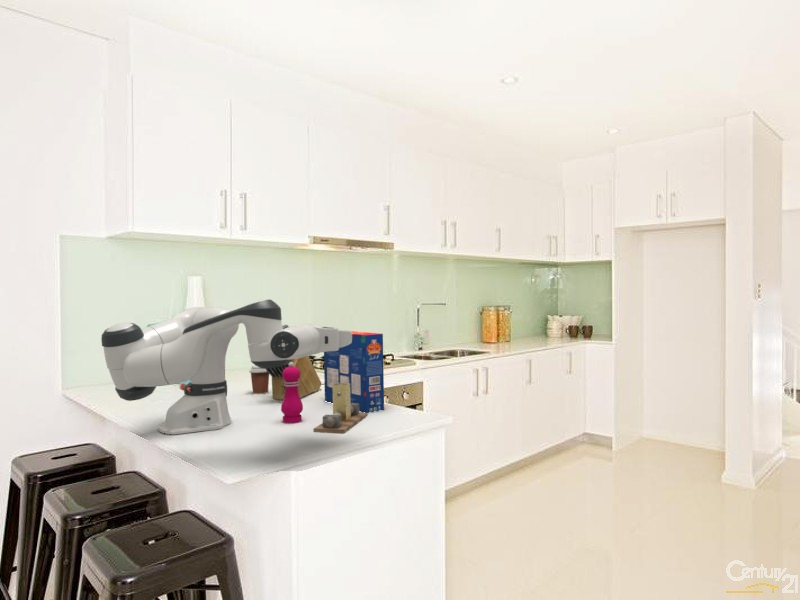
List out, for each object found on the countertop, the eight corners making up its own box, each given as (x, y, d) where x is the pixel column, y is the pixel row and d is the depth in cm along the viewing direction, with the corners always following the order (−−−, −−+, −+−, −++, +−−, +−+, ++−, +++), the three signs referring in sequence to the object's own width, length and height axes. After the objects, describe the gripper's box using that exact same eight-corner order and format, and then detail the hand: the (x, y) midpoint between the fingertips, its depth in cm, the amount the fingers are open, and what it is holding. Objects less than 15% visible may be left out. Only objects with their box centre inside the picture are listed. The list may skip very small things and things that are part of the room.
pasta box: (384, 410, 198) (382, 333, 197) (366, 413, 193) (365, 335, 192) (341, 399, 219) (340, 330, 219) (324, 401, 214) (323, 331, 214)
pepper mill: (293, 417, 188) (292, 360, 188) (307, 420, 183) (306, 361, 183) (276, 421, 182) (275, 362, 182) (290, 424, 178) (289, 364, 177)
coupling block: (345, 422, 175) (345, 385, 175) (332, 421, 176) (332, 385, 176) (351, 418, 180) (350, 382, 180) (338, 418, 181) (337, 382, 181)
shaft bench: (343, 433, 166) (343, 418, 166) (313, 431, 168) (313, 417, 168) (367, 415, 189) (367, 402, 189) (340, 414, 191) (340, 401, 191)
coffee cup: (268, 395, 230) (267, 367, 230) (246, 395, 230) (246, 367, 230) (273, 391, 239) (273, 364, 239) (253, 391, 240) (252, 364, 239)
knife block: (259, 405, 210) (257, 325, 210) (299, 388, 244) (297, 320, 244) (286, 406, 207) (284, 325, 207) (322, 389, 241) (320, 320, 241)
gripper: (275, 350, 155) (295, 345, 169) (342, 351, 151) (358, 346, 164) (274, 328, 155) (295, 325, 169) (341, 328, 150) (357, 325, 164)
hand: (326, 335), depth 166 cm, fingers open, 8 cm apart
